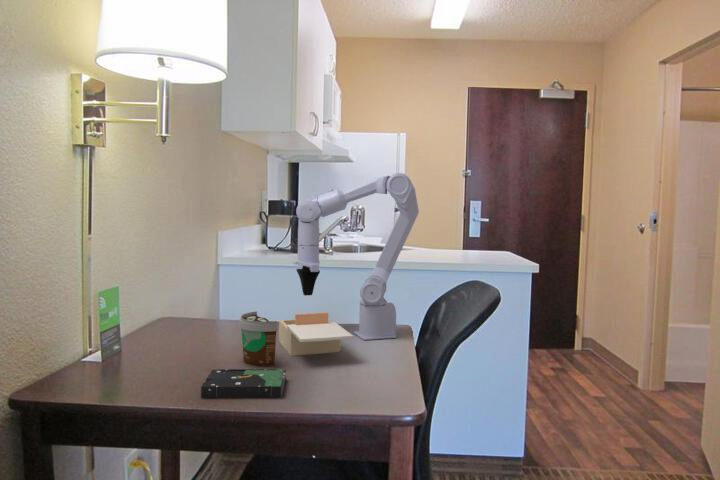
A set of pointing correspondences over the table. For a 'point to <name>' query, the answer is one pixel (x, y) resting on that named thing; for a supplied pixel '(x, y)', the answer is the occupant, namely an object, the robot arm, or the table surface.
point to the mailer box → (304, 348)
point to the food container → (258, 339)
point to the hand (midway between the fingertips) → (307, 295)
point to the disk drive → (244, 383)
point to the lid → (317, 328)
